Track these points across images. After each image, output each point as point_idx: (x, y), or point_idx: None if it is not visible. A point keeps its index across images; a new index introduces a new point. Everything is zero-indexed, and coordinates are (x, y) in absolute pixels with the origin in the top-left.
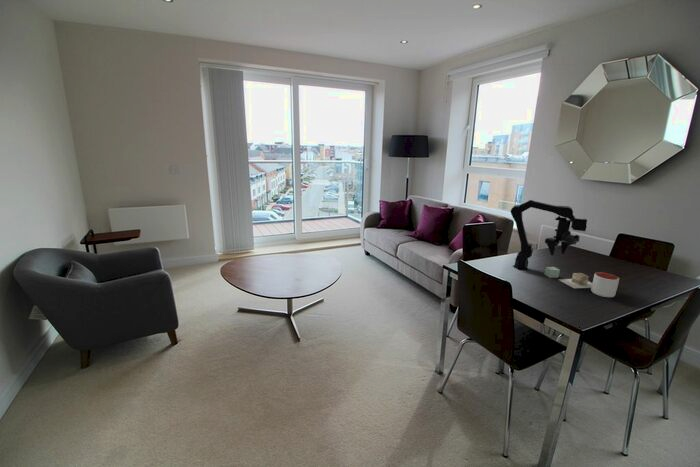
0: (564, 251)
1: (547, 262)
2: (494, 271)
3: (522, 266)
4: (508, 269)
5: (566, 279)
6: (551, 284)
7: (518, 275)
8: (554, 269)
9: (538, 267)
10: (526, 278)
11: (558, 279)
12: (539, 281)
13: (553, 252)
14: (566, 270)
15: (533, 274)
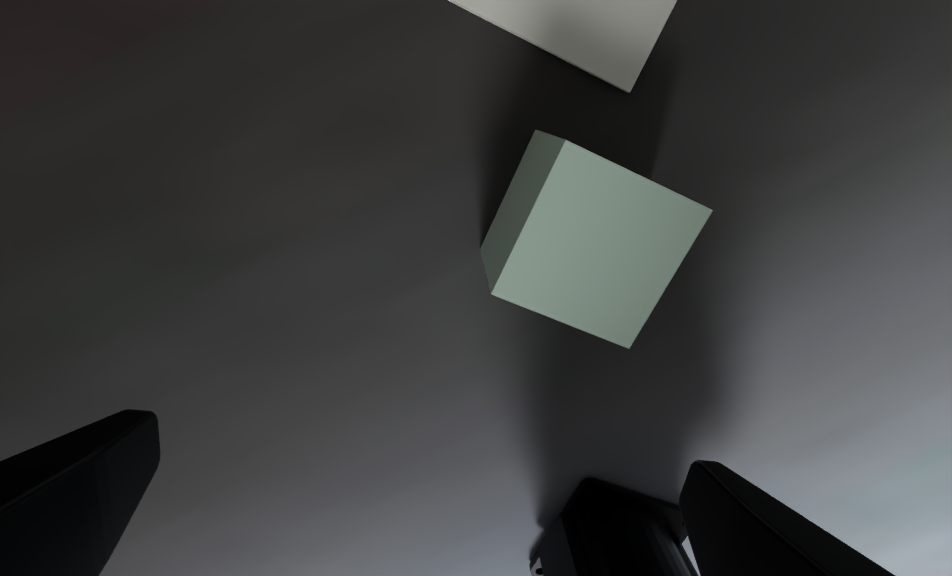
0: (85, 467)
1: None
2: (943, 572)
3: (666, 536)
4: None
5: (512, 10)
6: (899, 35)
7: (877, 417)
8: (630, 209)
9: (383, 470)
10: (911, 324)
11: (629, 80)
12: (901, 189)
13: (832, 536)
14: (84, 244)
15: (697, 362)
